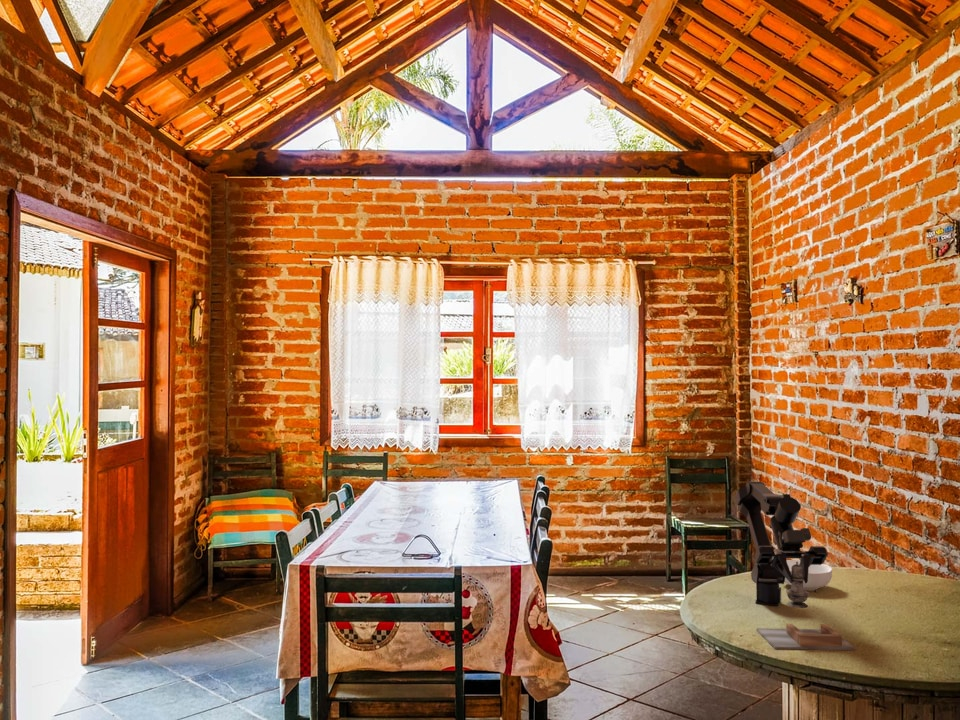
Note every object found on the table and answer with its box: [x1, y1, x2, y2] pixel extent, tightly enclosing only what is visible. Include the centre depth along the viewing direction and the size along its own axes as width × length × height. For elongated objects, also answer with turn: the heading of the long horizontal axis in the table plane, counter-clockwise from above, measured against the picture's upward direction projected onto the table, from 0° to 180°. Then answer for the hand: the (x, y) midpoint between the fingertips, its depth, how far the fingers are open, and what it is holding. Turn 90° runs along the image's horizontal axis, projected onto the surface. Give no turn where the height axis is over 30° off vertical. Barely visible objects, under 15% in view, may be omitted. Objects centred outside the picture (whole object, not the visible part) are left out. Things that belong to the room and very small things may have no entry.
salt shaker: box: [785, 562, 810, 609], centre depth 203 cm, size 6×6×12 cm
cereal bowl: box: [784, 559, 833, 591], centre depth 244 cm, size 17×17×7 cm
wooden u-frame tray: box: [756, 623, 856, 651], centre depth 194 cm, size 14×20×3 cm
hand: (799, 582), depth 202 cm, fingers closed on salt shaker, 4 cm apart
